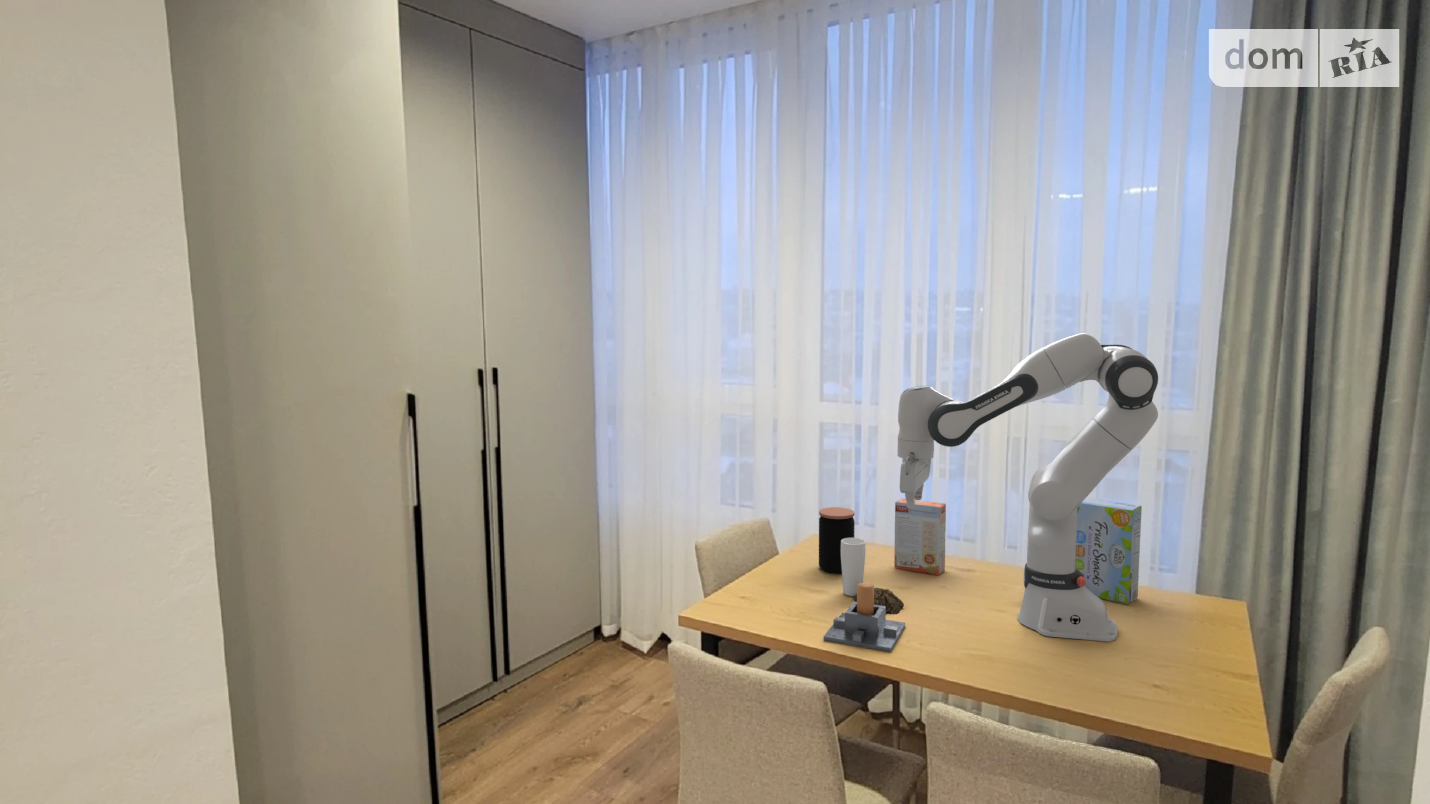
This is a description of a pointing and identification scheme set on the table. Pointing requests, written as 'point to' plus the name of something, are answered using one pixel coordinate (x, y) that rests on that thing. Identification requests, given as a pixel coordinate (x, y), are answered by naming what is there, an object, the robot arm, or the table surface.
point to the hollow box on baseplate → (865, 629)
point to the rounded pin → (865, 598)
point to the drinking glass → (852, 564)
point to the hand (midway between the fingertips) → (914, 503)
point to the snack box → (1109, 548)
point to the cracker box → (920, 536)
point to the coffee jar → (833, 536)
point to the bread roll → (886, 600)
